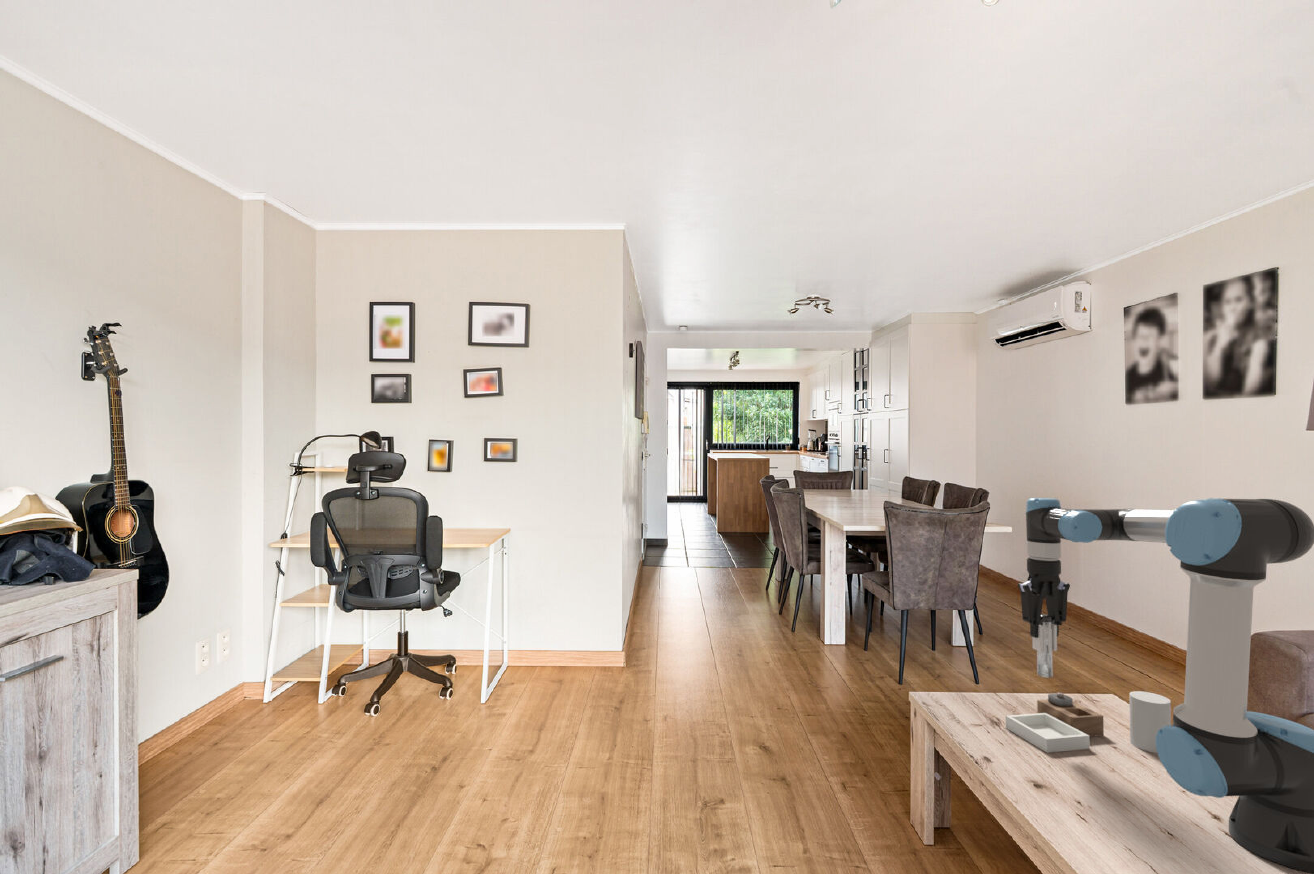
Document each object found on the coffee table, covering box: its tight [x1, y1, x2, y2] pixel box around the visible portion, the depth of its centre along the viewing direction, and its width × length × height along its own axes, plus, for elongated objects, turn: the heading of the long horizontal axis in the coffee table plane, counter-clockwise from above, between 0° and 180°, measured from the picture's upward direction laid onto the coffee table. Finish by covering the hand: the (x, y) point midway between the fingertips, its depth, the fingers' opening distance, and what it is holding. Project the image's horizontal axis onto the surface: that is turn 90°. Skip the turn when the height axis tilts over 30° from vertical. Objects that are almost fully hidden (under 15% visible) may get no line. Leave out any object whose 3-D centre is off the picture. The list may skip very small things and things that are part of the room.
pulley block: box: [1036, 691, 1105, 737], centre depth 168 cm, size 12×9×8 cm
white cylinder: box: [1128, 690, 1172, 754], centre depth 157 cm, size 8×8×12 cm
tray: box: [1005, 713, 1091, 753], centre depth 161 cm, size 14×12×3 cm
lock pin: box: [1036, 613, 1054, 679], centre depth 162 cm, size 3×3×15 cm
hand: (1044, 649), depth 162 cm, fingers closed on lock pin, 3 cm apart
